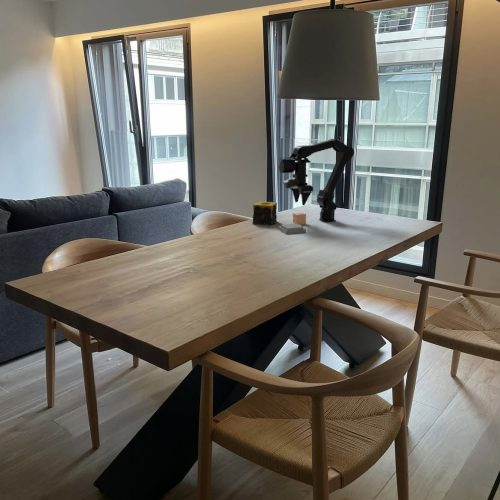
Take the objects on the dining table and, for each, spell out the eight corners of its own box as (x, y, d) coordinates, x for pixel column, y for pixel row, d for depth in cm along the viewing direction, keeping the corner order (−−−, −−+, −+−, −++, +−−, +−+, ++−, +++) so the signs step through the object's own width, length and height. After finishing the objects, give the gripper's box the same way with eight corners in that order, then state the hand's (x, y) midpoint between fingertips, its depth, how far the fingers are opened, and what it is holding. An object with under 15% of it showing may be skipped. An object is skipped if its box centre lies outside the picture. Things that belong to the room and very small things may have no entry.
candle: (252, 224, 246) (252, 204, 243) (257, 220, 255) (257, 201, 252) (272, 225, 243) (272, 205, 240) (276, 221, 252) (277, 202, 249)
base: (297, 228, 236) (297, 223, 235) (306, 232, 227) (306, 227, 226) (278, 229, 233) (278, 224, 233) (285, 234, 224) (285, 228, 223)
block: (302, 222, 250) (302, 212, 248) (305, 224, 245) (306, 214, 244) (292, 222, 248) (293, 213, 247) (296, 224, 244) (296, 214, 242)
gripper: (278, 171, 246) (278, 201, 251) (292, 175, 229) (291, 208, 233) (298, 170, 249) (298, 200, 254) (314, 174, 232) (313, 206, 236)
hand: (299, 203), depth 244 cm, fingers open, 9 cm apart
